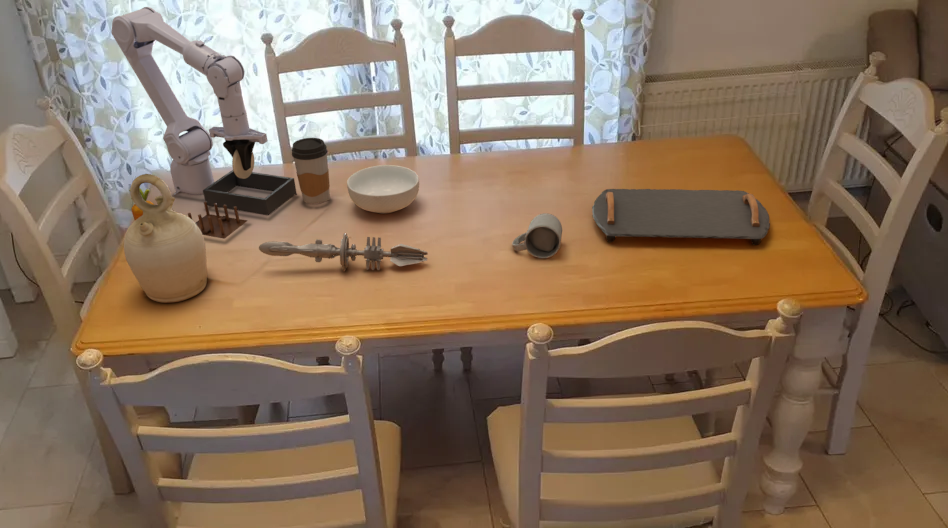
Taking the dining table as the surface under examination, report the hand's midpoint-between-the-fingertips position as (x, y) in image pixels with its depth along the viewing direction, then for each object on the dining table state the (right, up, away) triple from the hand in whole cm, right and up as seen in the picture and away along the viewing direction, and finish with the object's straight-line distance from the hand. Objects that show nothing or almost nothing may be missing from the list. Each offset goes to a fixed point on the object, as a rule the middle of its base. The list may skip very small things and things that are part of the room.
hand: (244, 168), depth 201 cm
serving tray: (+100, -14, -10) cm, 102 cm away
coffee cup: (+16, -7, +5) cm, 19 cm away
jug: (-7, -30, -26) cm, 40 cm away
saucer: (0, -2, +1) cm, 2 cm away
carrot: (-17, -21, -12) cm, 29 cm away
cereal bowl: (+33, -9, +2) cm, 34 cm away
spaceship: (+27, -26, -22) cm, 43 cm away
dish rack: (-5, -15, -6) cm, 17 cm away
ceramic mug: (+68, -21, -18) cm, 74 cm away
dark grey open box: (0, -7, +6) cm, 9 cm away
